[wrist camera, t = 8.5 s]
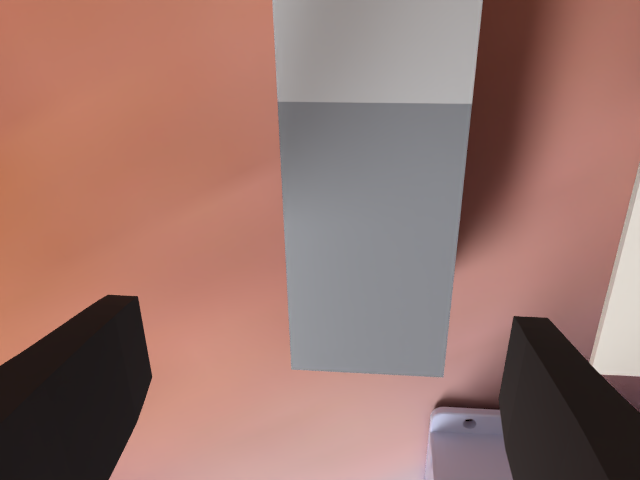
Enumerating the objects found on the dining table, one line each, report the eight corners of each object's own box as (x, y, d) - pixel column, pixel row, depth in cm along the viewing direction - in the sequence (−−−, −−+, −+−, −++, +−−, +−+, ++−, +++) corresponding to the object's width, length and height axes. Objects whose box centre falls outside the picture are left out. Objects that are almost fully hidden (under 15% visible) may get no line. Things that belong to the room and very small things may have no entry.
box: (310, 277, 22) (291, 369, 18) (300, -57, 17) (270, -41, 13) (432, 282, 22) (443, 377, 18) (461, -59, 17) (487, -44, 12)
